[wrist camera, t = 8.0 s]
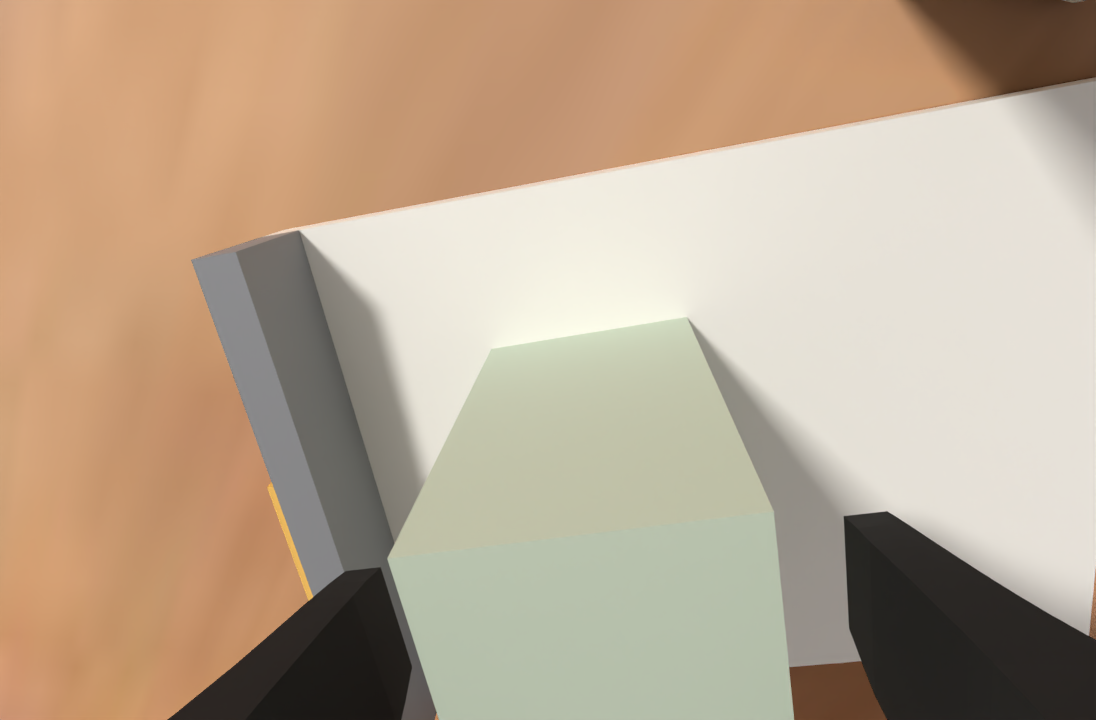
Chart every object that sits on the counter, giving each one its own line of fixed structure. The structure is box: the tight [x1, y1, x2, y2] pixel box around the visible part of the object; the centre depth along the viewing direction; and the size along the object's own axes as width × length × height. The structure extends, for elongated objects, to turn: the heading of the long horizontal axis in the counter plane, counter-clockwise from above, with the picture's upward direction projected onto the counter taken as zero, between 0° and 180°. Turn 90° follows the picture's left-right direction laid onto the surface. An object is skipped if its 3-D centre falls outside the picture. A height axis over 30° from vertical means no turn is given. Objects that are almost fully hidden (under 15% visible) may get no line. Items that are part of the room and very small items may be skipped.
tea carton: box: [387, 317, 794, 720], centre depth 11 cm, size 4×6×7 cm
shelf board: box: [191, 77, 1096, 720], centre depth 13 cm, size 16×12×3 cm
